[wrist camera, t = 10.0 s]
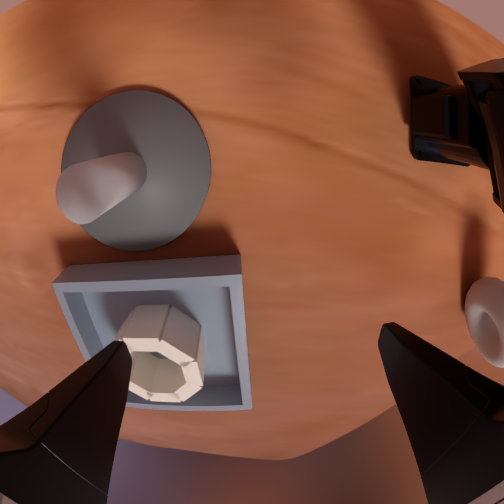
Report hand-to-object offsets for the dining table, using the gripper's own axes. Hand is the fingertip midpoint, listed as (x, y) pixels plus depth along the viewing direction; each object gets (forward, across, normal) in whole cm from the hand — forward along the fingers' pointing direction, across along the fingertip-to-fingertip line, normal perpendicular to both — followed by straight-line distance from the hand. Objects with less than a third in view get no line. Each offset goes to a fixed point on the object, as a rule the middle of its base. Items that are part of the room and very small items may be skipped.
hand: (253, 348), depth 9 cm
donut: (+12, -23, +9) cm, 28 cm away
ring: (+10, +8, +9) cm, 16 cm away
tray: (+11, +8, +9) cm, 16 cm away
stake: (+11, +8, -5) cm, 14 cm away
